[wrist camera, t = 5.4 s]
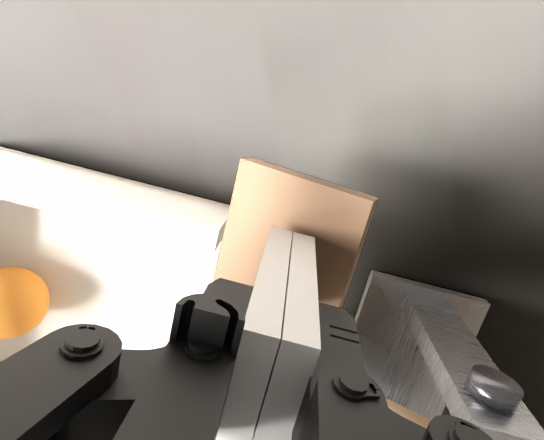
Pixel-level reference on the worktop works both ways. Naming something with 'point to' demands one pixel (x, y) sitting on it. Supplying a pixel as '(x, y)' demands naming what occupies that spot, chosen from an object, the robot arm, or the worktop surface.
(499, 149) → the worktop surface
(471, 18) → the worktop surface
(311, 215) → the lever
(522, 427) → the stand
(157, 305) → the dish
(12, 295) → the ball
